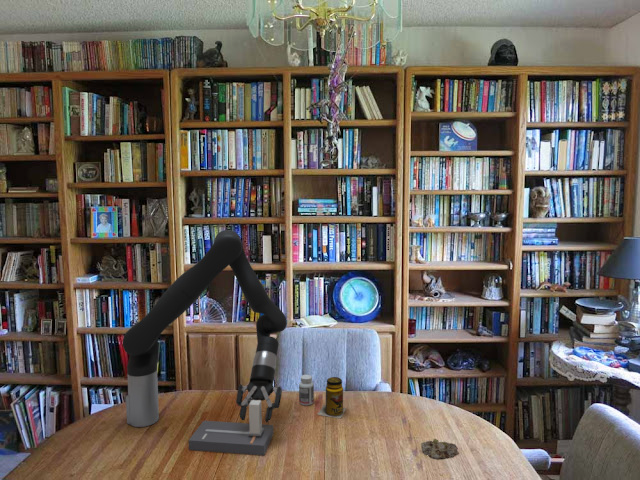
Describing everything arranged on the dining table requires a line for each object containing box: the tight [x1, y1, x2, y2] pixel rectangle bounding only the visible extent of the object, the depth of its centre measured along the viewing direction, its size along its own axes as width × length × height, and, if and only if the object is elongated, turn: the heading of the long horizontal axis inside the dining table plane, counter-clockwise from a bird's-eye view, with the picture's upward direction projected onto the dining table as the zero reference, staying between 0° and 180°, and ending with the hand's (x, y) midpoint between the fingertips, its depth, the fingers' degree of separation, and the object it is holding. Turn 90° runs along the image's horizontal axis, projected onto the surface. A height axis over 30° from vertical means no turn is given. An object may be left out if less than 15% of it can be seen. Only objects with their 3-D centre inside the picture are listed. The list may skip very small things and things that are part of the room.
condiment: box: [317, 376, 347, 419], centre depth 161 cm, size 7×8×12 cm
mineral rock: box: [420, 438, 459, 460], centre depth 137 cm, size 11×4×8 cm
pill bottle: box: [298, 374, 315, 406], centre depth 169 cm, size 5×5×10 cm
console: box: [188, 420, 274, 456], centre depth 143 cm, size 23×12×3 cm, turn 83°
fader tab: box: [248, 400, 264, 436], centre depth 141 cm, size 4×4×10 cm
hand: (254, 420), depth 140 cm, fingers open, 7 cm apart
